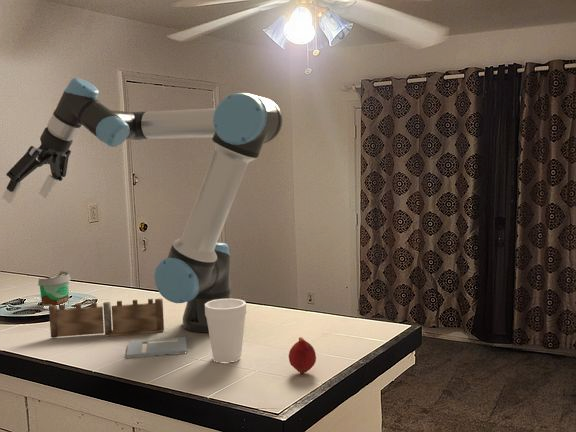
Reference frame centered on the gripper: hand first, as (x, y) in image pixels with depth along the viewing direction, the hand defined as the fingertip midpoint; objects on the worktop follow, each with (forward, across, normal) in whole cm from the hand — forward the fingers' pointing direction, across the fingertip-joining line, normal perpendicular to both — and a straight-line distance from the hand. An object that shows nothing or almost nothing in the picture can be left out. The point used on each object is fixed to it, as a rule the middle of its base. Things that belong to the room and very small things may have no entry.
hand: (25, 198), depth 160 cm
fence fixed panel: (+11, -2, +46) cm, 47 cm away
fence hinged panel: (+18, +5, +36) cm, 40 cm away
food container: (+33, -20, +16) cm, 42 cm away
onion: (-19, +14, +88) cm, 91 cm away
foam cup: (-8, +10, +72) cm, 73 cm away
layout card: (+3, +8, +56) cm, 57 cm away
